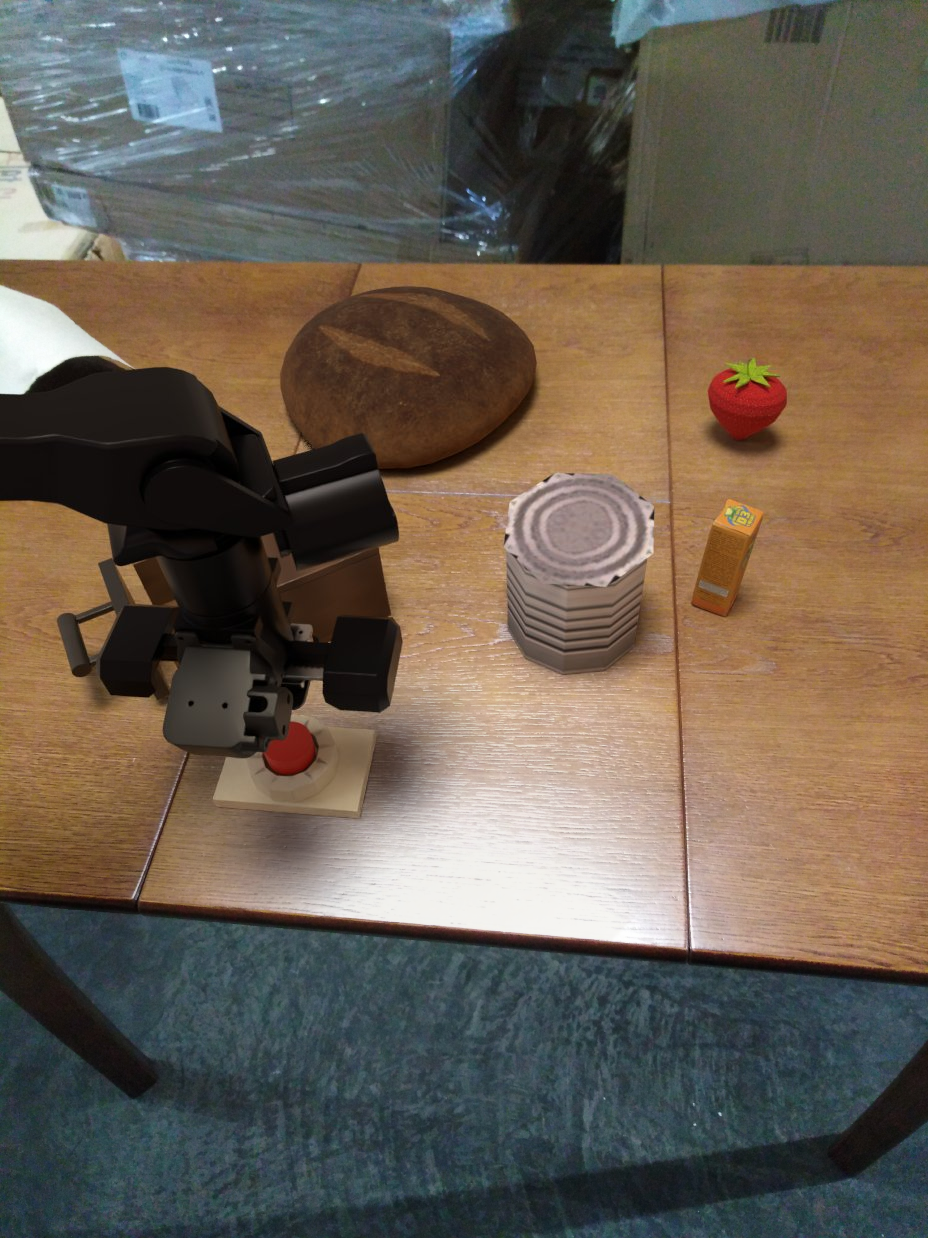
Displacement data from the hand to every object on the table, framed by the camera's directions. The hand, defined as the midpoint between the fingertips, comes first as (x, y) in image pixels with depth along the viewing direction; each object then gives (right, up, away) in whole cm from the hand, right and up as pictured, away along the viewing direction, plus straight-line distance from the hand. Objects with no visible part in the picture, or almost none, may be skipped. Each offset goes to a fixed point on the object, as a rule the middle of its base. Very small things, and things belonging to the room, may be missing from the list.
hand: (279, 726), depth 64 cm
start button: (0, -2, +3) cm, 4 cm away
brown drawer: (-11, +6, +13) cm, 18 cm away
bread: (+7, +33, +35) cm, 48 cm away
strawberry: (+41, +26, +27) cm, 55 cm away
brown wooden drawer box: (-2, +9, +16) cm, 19 cm away
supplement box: (+35, +9, +14) cm, 39 cm away
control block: (0, -4, +5) cm, 6 cm away
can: (+22, +7, +13) cm, 27 cm away
